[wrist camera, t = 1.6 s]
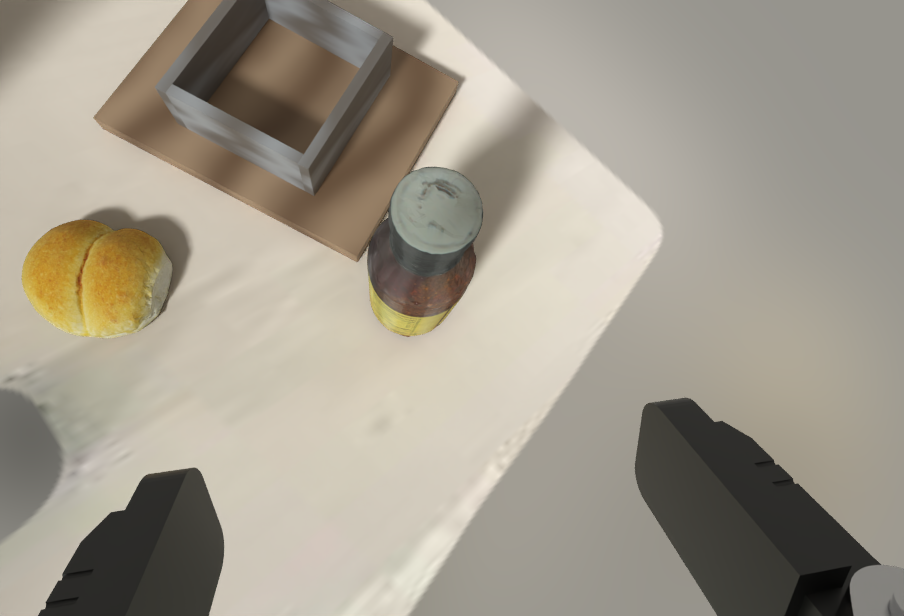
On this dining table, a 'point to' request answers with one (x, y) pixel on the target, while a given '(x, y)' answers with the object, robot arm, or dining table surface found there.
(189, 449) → the dining table surface
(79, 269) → the bread roll
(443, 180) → the sauce bottle
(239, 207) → the dining table surface
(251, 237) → the dining table surface
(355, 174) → the bottle stand
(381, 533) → the dining table surface
